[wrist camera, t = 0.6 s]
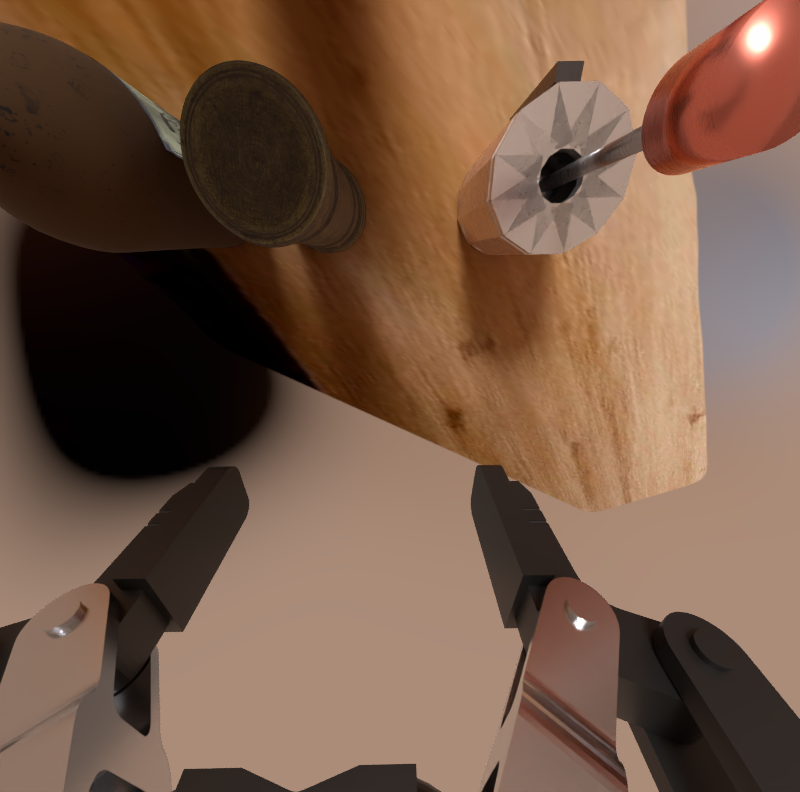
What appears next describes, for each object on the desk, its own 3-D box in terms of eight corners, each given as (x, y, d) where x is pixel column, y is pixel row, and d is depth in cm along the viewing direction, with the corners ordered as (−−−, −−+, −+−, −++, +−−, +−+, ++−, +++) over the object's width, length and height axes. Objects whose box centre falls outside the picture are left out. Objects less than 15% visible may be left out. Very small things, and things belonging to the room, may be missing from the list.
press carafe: (462, 128, 29) (505, 44, 18) (561, 126, 29) (668, 41, 18) (454, 256, 34) (483, 256, 23) (538, 254, 34) (609, 253, 23)
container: (374, 243, 34) (354, 232, 18) (302, 260, 34) (219, 265, 18) (353, 148, 30) (303, 21, 14) (272, 170, 30) (133, 73, 14)
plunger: (501, 133, 22) (726, -128, 7) (592, 131, 22) (1009, -132, 7) (490, 237, 26) (629, 211, 10) (570, 235, 26) (824, 206, 10)
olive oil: (238, 273, 35) (-45, 305, 12) (150, 206, 32) (-439, 86, 9) (283, 194, 31) (2, 43, 9) (189, 110, 28) (-605, -450, 6)
